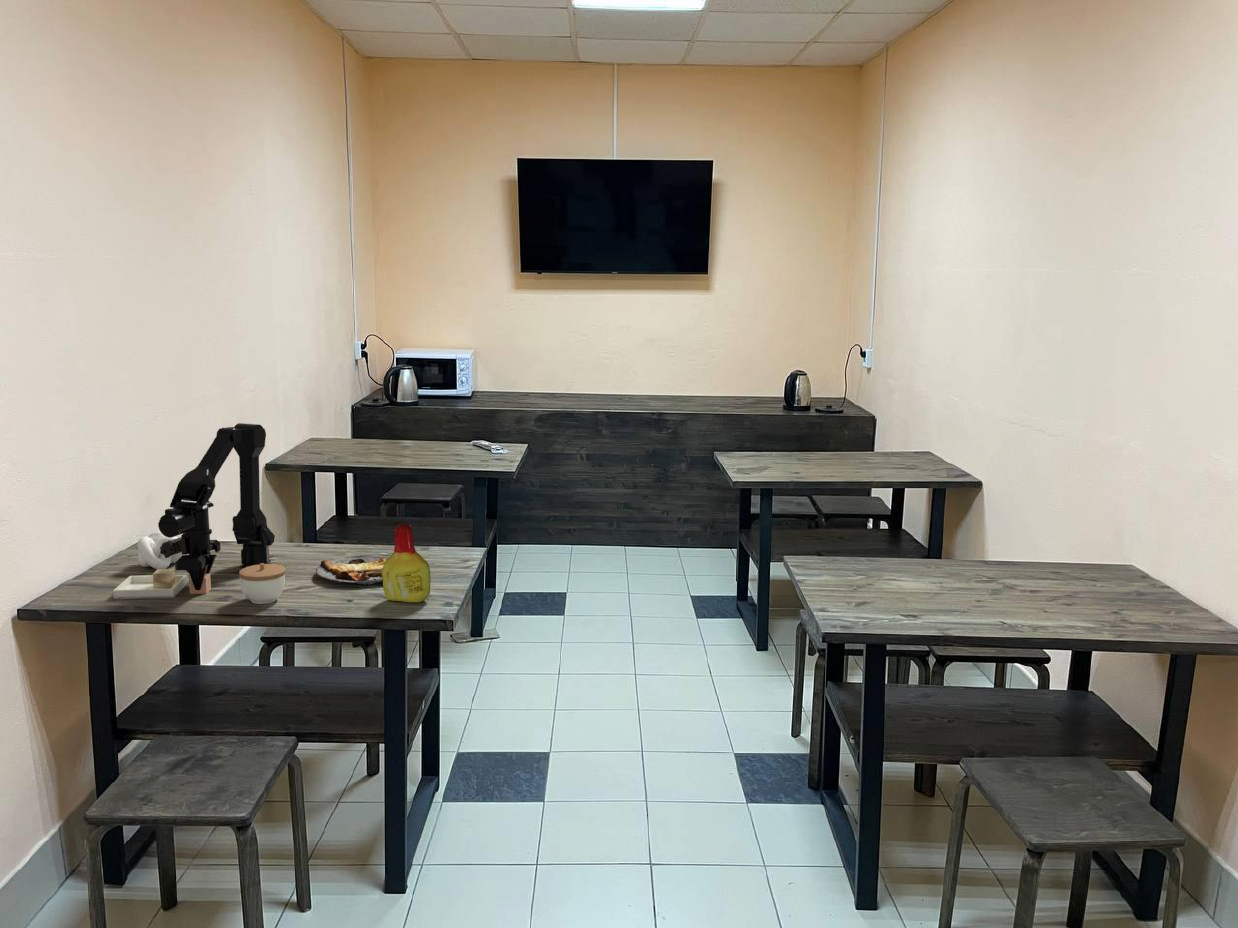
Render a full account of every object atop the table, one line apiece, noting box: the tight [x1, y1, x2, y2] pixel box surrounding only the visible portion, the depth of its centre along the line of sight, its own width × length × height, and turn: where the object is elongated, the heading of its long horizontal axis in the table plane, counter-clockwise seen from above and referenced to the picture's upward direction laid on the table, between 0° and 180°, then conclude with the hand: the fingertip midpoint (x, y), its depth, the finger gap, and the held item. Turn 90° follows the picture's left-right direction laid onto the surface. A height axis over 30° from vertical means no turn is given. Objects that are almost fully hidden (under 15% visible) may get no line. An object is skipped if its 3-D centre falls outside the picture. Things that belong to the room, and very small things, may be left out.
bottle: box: [381, 523, 431, 603], centre depth 240 cm, size 12×6×20 cm, turn 83°
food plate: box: [315, 554, 390, 586], centre depth 262 cm, size 25×23×4 cm
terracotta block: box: [188, 573, 212, 595], centre depth 244 cm, size 4×4×4 cm
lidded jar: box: [238, 563, 286, 605], centre depth 239 cm, size 11×11×9 cm
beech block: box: [152, 568, 176, 589], centre depth 246 cm, size 4×4×4 cm
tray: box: [112, 574, 189, 600], centre depth 244 cm, size 14×12×2 cm
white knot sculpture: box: [137, 530, 183, 570], centre depth 263 cm, size 11×12×9 cm
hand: (200, 587), depth 244 cm, fingers closed on terracotta block, 4 cm apart
